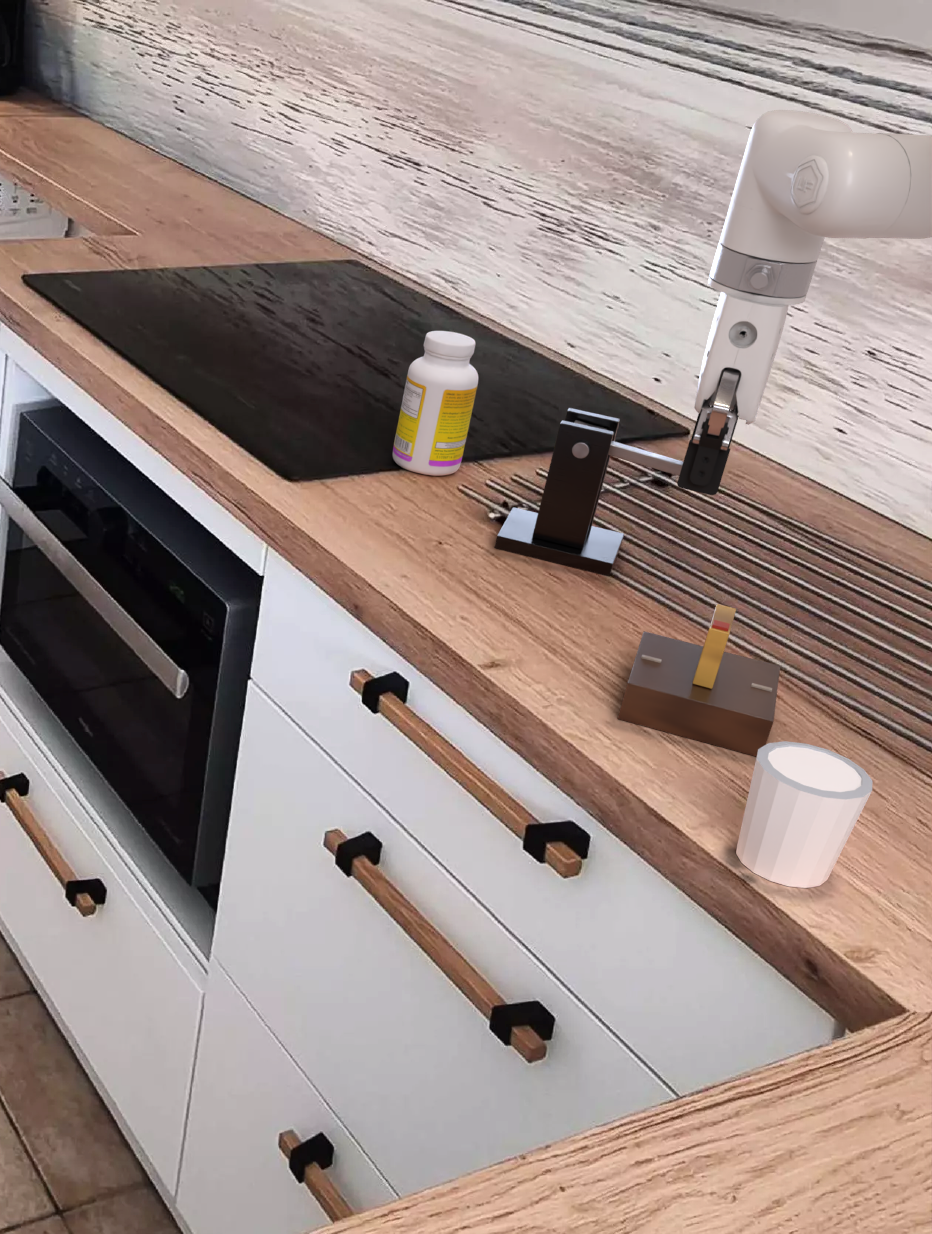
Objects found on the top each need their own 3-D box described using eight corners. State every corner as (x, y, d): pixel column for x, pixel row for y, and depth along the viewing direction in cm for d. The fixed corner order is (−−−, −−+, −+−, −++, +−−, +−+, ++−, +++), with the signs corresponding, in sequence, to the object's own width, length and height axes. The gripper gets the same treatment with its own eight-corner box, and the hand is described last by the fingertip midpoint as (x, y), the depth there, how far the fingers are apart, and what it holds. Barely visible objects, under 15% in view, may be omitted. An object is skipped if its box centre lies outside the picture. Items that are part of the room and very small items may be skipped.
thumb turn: (699, 657, 129) (717, 600, 127) (719, 662, 129) (737, 605, 126) (692, 683, 125) (710, 624, 123) (712, 689, 124) (730, 630, 122)
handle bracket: (621, 545, 156) (655, 421, 151) (609, 576, 149) (644, 447, 144) (510, 519, 159) (539, 396, 154) (494, 548, 152) (524, 420, 147)
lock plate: (768, 700, 131) (781, 663, 129) (761, 758, 122) (774, 719, 121) (633, 665, 134) (644, 628, 132) (617, 719, 126) (628, 680, 124)
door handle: (707, 481, 149) (717, 455, 148) (702, 499, 145) (712, 472, 144) (569, 440, 153) (577, 415, 151) (560, 457, 148) (569, 431, 147)
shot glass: (801, 831, 114) (833, 739, 111) (860, 893, 108) (897, 797, 105) (705, 832, 112) (736, 739, 109) (760, 894, 106) (794, 797, 103)
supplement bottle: (467, 464, 171) (495, 338, 165) (448, 483, 166) (476, 353, 160) (402, 448, 174) (427, 322, 168) (381, 466, 168) (407, 337, 162)
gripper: (806, 307, 131) (740, 516, 139) (814, 261, 145) (753, 453, 153) (703, 287, 133) (644, 493, 141) (721, 243, 147) (666, 433, 155)
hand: (701, 472), depth 147 cm, fingers open, 9 cm apart
